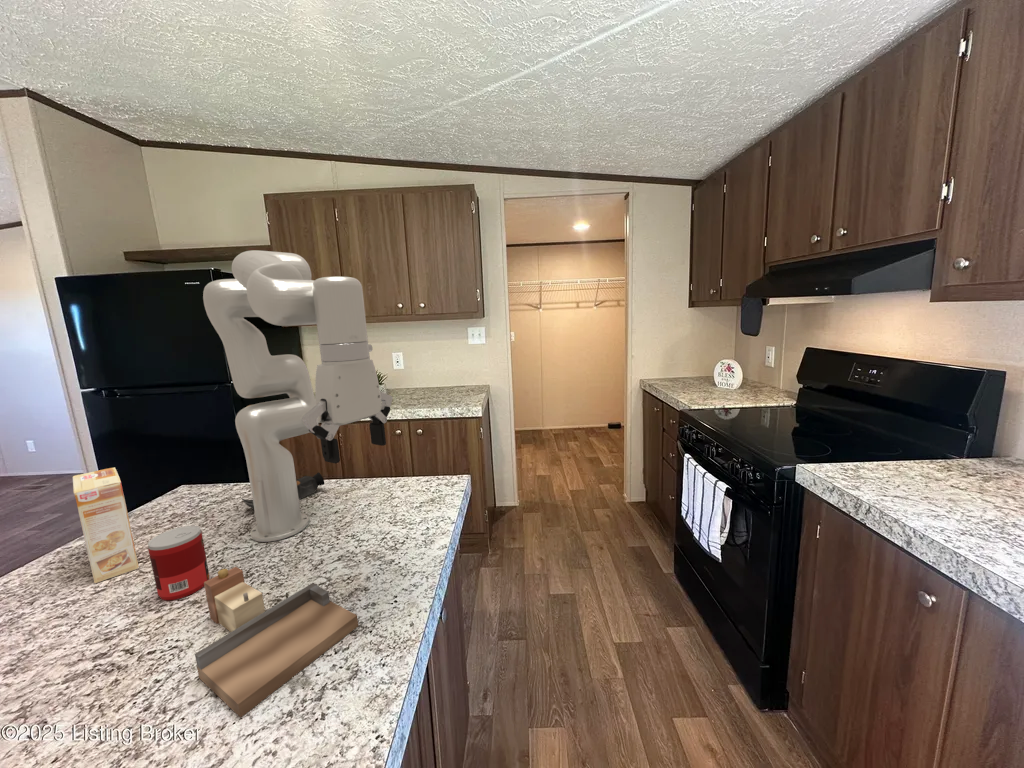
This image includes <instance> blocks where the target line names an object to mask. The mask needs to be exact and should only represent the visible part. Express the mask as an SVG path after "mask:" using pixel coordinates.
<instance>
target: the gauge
mask: <svg viewBox="0 0 1024 768" xmlns="http://www.w3.org/2000/svg"><path fill="white" fill-rule="evenodd" d="M204 590H205V591H204V592H205V595H206V602H207V607H208V612H209V617H210V620H212V621H213V622H214V623H215V624H217V625H218V624H220V625H221V626H222V627H223V628H225V629H226V630H227V631H229V633H230V632H232V631H234V630H235V629H237V628H239V627H240V626H242V625H244V624H245V623H247V622H249V621H250V620H252V619H254V618H255V617H257V616H258V615H260V614H262V613H263V612H265V611H266V609H265V602H264V597H263V593H262V592H261V591H259V590H257V589H255V588H254V587H252V586H250V585H249V584H247V583H246V582H245V576H244V571H243V570H242V569H241V568H239V567H237V566H235V567H232V568H230V569H228V568H222V569H220V570H218V571H217V575H216V576H214V577H212V578H209V580H207V581H205V582H204Z"/></svg>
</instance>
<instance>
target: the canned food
mask: <svg viewBox="0 0 1024 768" xmlns="http://www.w3.org/2000/svg"><path fill="white" fill-rule="evenodd" d="M147 549H148V555H149V556H148V557H149V560H150V565H151V569H152V574H153V579H154V582H155V588H156V591H157V595H158V597H159V598H160V599H161V600H163V601H174V600H175V601H176V600H179V599H183V598H185V597H188V596H190V595H193V594H195V593H197V592H198V591H200V590H201V589H202V588H205V586H204V582H205V581H207V580H209V579H210V572H209V571H210V570H209V565H208V559H207V556H206V550H205V543H204V538H203V532H202V530H201V527H200V526H198V525H185V526H180V527H175V528H172V529H170V530H166V531H164V532H161V533H160V534H158V535H156V536H155V537H153V538H151V539H150V540H149V541H148V543H147Z"/></svg>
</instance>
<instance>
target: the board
mask: <svg viewBox="0 0 1024 768" xmlns="http://www.w3.org/2000/svg"><path fill="white" fill-rule="evenodd" d="M329 593H330V592H329V591H328V590H326V589H324V588H322V587H320V585H319V586H318V584H317V583H315V582H311V583H309V584H308V585H307V586H305V587H303V588H301V589H299V590H298V591H296V592H294V593H293V594H291V595H290V596H288V597H287V598H285V599H284V600H282V601H280V602H278V603H277V604H275V605H273V606H272V607H270V608H269V609H267V610H265V612H263V613H262V614H260V615H258V616H257V617H255V618H254V619H252V620H250V621H249V622H247V623H245V624H244V625H242V626H240V627H239V628H237V629H235V630H234V631H232V632H230V631H229V633H227V634H225V635H223V636H222V637H220V638H219V639H217V640H215V641H214V642H212V643H211V644H209V645H207V646H205V647H204V648H202V649H201V650H199V651H198V652H196V653H194V657H195V660H196V670H197V673H198V674H197V675H198V678H199V679H200V680H201V681H202V682H203V683H204V684H205V686H207V687H208V688H209V689H210V690H211V691H212V692H213V693H214V694H215V695H217V697H218V698H220V699H221V700H222V702H223V703H224V704H225V705H227V706H228V707H229V708H230V709H231V710H232V711H233V712H234V713H235V714H236V715H237V716H238V717H239V718H242V717H244V716H245V715H246V714H247V713H249V712H250V711H251V710H253V708H255V707H256V706H258V705H259V704H260V703H262V702H263V701H264V700H265V699H267V698H268V697H270V696H271V695H272V694H273V693H274V692H275V691H277V690H278V689H280V688H281V687H282V686H284V684H286V683H288V681H290V680H292V678H294V677H295V676H297V675H298V674H299V673H300V672H301V671H303V670H304V669H305V668H307V667H308V666H309V665H310V664H312V663H313V662H314V661H315V660H317V659H318V658H319V657H321V656H322V655H323V654H325V653H326V652H327V651H329V650H330V649H332V647H334V646H335V645H336V644H338V643H339V642H340V641H341V640H343V639H344V638H346V636H348V635H349V634H351V633H352V632H353V631H354V630H356V629H357V628H358V627H359V619H358V614H355V613H354V612H352V611H350V610H348V609H347V608H345V607H342V606H340V605H339V604H336V603H335V602H334V601H331V600H330V594H329Z"/></svg>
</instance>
